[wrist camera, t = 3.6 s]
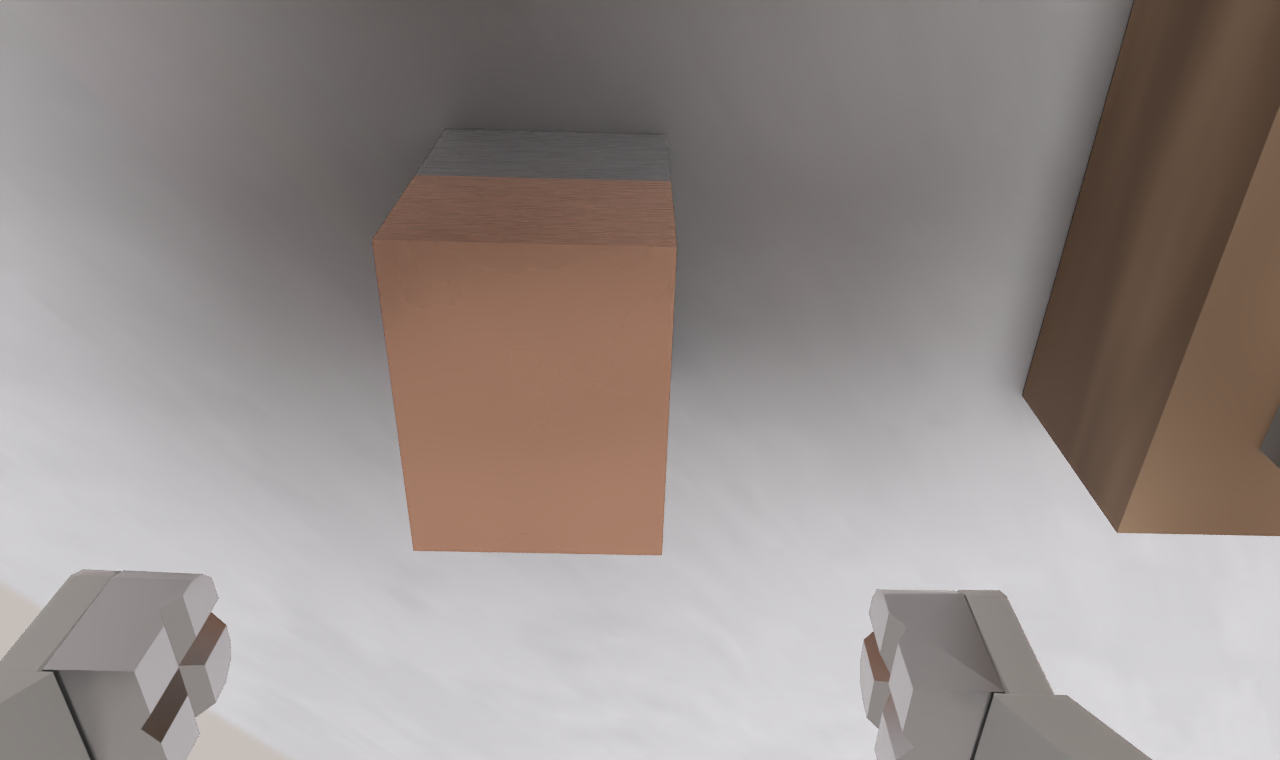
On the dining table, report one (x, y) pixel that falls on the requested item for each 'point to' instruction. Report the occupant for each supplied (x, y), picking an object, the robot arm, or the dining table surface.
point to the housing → (532, 340)
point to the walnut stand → (1175, 281)
